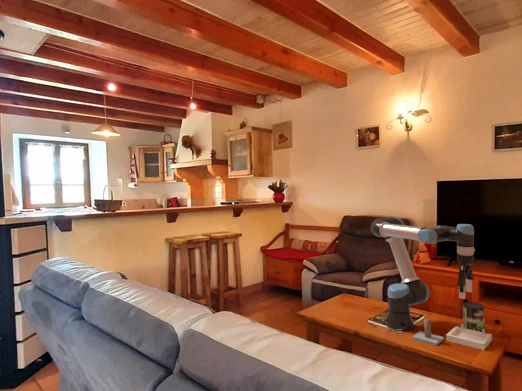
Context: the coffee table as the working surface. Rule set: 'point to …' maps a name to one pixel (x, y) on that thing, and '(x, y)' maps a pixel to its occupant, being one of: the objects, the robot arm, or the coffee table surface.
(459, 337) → the frame
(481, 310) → the coffee can
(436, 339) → the grey panel with handle
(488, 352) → the coffee table surface
